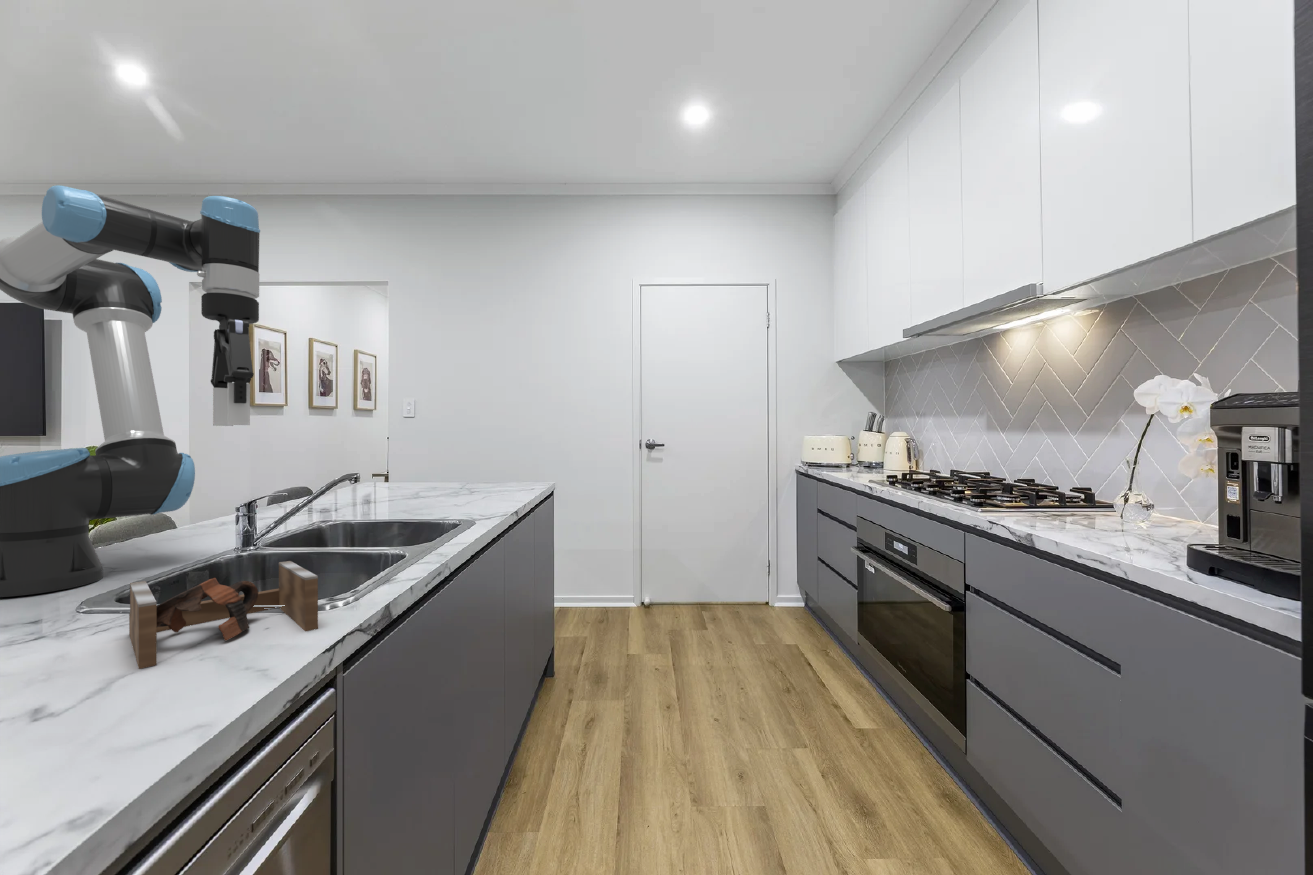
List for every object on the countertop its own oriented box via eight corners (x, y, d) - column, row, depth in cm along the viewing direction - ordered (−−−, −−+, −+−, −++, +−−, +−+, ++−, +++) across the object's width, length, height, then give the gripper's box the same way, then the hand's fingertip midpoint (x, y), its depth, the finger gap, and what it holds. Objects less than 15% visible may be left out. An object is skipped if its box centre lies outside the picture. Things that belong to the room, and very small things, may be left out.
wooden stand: (129, 635, 74) (129, 580, 74) (287, 606, 87) (287, 559, 87) (138, 668, 63) (138, 604, 63) (317, 629, 76) (317, 575, 76)
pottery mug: (212, 652, 68) (174, 595, 67) (159, 677, 70) (122, 622, 69) (289, 604, 80) (258, 555, 79) (242, 627, 82) (211, 579, 81)
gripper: (191, 304, 98) (190, 425, 98) (214, 276, 80) (214, 424, 80) (243, 311, 103) (243, 426, 103) (276, 286, 86) (276, 425, 86)
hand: (230, 425), depth 92 cm, fingers open, 13 cm apart
